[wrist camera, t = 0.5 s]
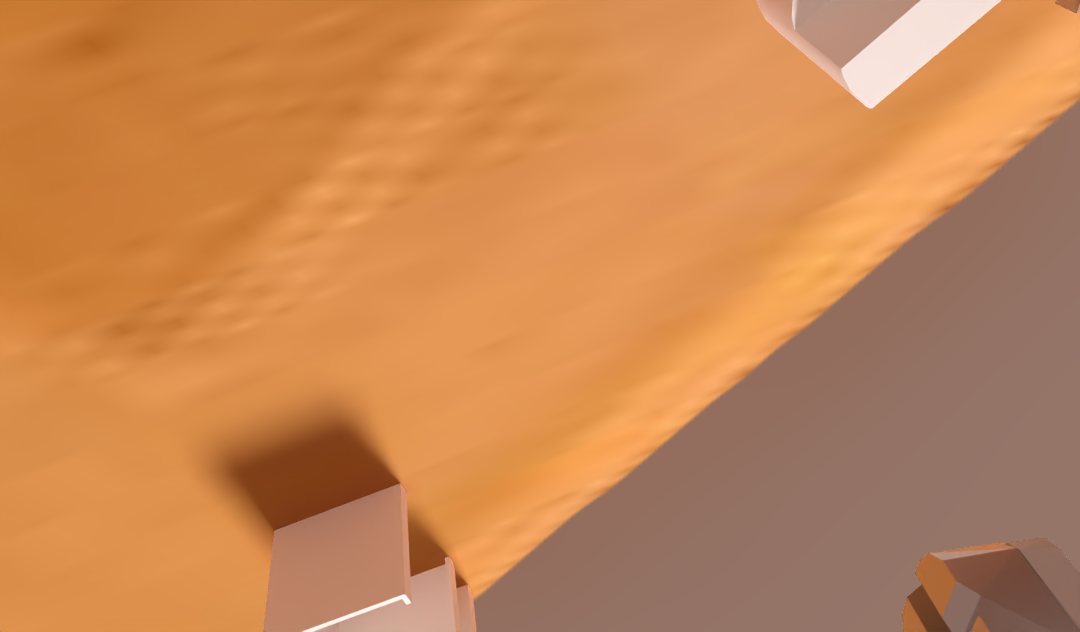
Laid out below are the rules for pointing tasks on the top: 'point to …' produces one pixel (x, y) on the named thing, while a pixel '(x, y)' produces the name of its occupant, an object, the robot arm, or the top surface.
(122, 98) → the top surface
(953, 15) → the base with upright slab
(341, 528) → the white slotted rack
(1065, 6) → the carriage
